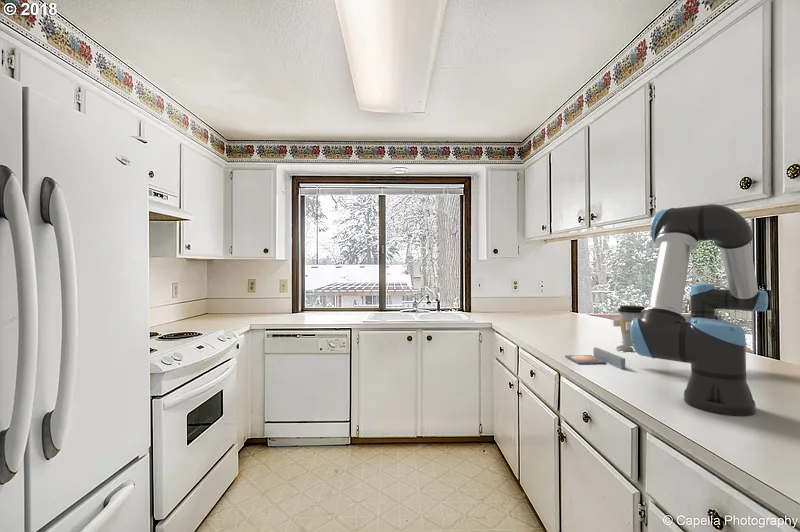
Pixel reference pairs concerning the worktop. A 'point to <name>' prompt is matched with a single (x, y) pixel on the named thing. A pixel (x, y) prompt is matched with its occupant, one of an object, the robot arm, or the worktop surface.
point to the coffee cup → (626, 316)
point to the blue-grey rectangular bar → (609, 358)
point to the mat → (585, 359)
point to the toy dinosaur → (625, 348)
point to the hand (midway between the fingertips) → (619, 324)
